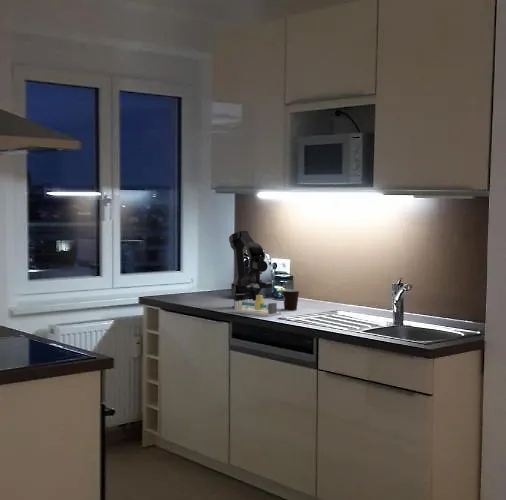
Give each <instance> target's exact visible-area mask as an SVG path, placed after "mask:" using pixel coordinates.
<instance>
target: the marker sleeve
mask: <svg viewBox="0 0 506 500" xmlns="http://www.w3.org/2000/svg"><path fill="white" fill-rule="evenodd" d="M254 303H255V307H254V309H255V310H265V308H262V307H260V304H264V305H265V301H264V295H262V294H258V295H256V301H254Z"/></svg>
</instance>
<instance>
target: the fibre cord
mask: <svg viewBox="0 0 506 500" xmlns="http://www.w3.org/2000/svg"><path fill="white" fill-rule="evenodd" d="M242 305H247V306H250V307H254V308H255V302H250V303H248V302H242ZM260 307H262V308H264V309H265V310H268V313H269V314H274V313H277V312H278V309H277V308H278V307H277V302H269V303H266V304H265V303H264V304H260Z"/></svg>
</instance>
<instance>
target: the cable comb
mask: <svg viewBox="0 0 506 500" xmlns="http://www.w3.org/2000/svg"><path fill="white" fill-rule="evenodd" d="M250 301H251V300H250V299H249V298H247V299H246V300H242V301H235V307H234V309H232V312H233V313H239V314H247V315H253V316H259V317H275V316H280V315H282V312H281V311H277V313H274V314H269V313H268V310H267V309H264V310H255V308H251V306H247V305H242V302H248V303H251V302H250Z"/></svg>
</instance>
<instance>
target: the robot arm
mask: <svg viewBox="0 0 506 500" xmlns="http://www.w3.org/2000/svg"><path fill="white" fill-rule="evenodd" d="M228 241H229V245H230V247H231V249H232V250H233V252H234V253H233V254H234V265H235V275H236V276H235V277H236V278H235V280H234V282H233V288H232V290H231V292H230V293H231V296H232V297H233V302H234V303H233V304H234V305H233V306H231V307H232V308H235V301H242V300H246V299H248V297H250V296H251V298H252V301H253V302H256V295H260V293H261V292H262V291H261V290H262V289H270V288H273V283H272V282H271V281H262V279H261V275H263V273H264V272H266V271H267V269H268V265H269V264H268V262H266V261H265V259H266V254H265V252H264V249H263V246H261V245H260V244H259V243H256V242H255V240H253V238H252V237H251V236H250V234H249V231H248V230H237V232H234V233H231V235H230V236H229V237H228ZM245 248H246V254H247V255H246V256H247V257H248V259H247V260H248V271H247V273H246V270H245V259H244V257H245V256H244V249H245Z"/></svg>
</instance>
